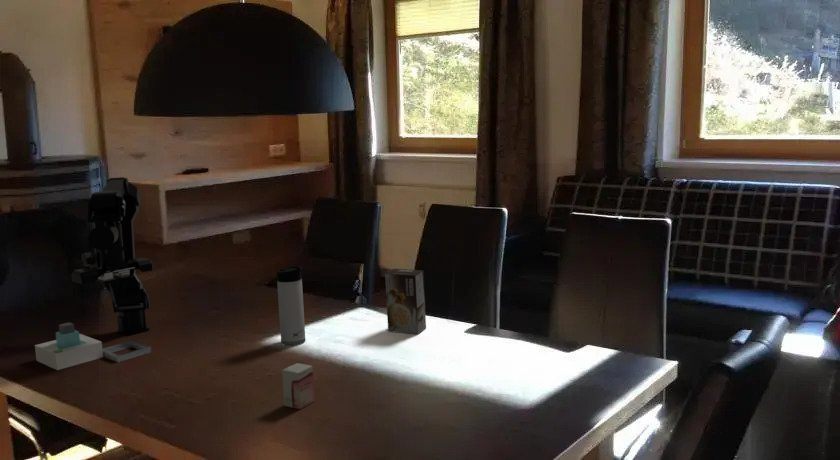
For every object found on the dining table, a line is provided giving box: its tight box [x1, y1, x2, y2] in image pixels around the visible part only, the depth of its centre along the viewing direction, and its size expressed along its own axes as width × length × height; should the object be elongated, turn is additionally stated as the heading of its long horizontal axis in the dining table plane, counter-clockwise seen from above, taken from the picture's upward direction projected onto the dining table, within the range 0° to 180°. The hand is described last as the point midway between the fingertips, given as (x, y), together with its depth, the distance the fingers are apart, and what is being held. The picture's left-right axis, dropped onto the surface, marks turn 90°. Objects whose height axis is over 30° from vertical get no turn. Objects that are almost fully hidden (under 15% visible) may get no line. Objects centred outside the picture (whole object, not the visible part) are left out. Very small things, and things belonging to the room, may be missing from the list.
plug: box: [55, 322, 80, 349], centre depth 193 cm, size 4×4×9 cm
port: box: [34, 333, 104, 371], centre depth 193 cm, size 12×12×4 cm
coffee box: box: [384, 268, 427, 335], centre depth 207 cm, size 9×6×16 cm
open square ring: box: [102, 339, 152, 363], centre depth 196 cm, size 9×9×2 cm
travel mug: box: [276, 265, 306, 347], centre depth 199 cm, size 6×7×20 cm
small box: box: [281, 362, 315, 410], centre depth 160 cm, size 5×4×8 cm
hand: (116, 303), depth 194 cm, fingers closed
